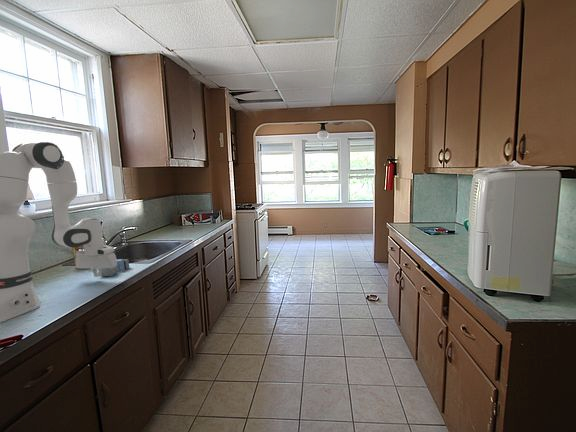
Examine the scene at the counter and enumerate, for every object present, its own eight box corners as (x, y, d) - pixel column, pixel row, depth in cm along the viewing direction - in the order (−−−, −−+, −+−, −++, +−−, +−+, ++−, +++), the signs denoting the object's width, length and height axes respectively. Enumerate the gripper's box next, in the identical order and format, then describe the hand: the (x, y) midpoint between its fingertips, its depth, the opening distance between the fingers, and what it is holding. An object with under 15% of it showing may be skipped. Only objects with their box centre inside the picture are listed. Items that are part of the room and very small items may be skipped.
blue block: (120, 271, 175) (119, 261, 174) (112, 271, 175) (111, 261, 175) (124, 269, 178) (123, 259, 177) (116, 269, 179) (115, 259, 178)
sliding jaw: (111, 276, 166) (110, 267, 166) (100, 276, 167) (99, 267, 166) (118, 272, 172) (117, 263, 171) (108, 272, 173) (106, 264, 172)
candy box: (75, 268, 184) (72, 243, 181) (75, 267, 187) (72, 241, 185) (93, 265, 188) (90, 240, 186) (93, 264, 192) (90, 239, 190)
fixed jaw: (126, 269, 179) (125, 260, 178) (116, 269, 179) (115, 260, 179) (129, 267, 182) (128, 259, 181) (119, 267, 182) (118, 259, 182)
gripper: (70, 251, 157) (74, 278, 159) (108, 251, 154) (112, 278, 156) (80, 248, 163) (84, 274, 165) (117, 248, 161) (120, 274, 163)
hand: (98, 276), depth 161 cm, fingers closed
